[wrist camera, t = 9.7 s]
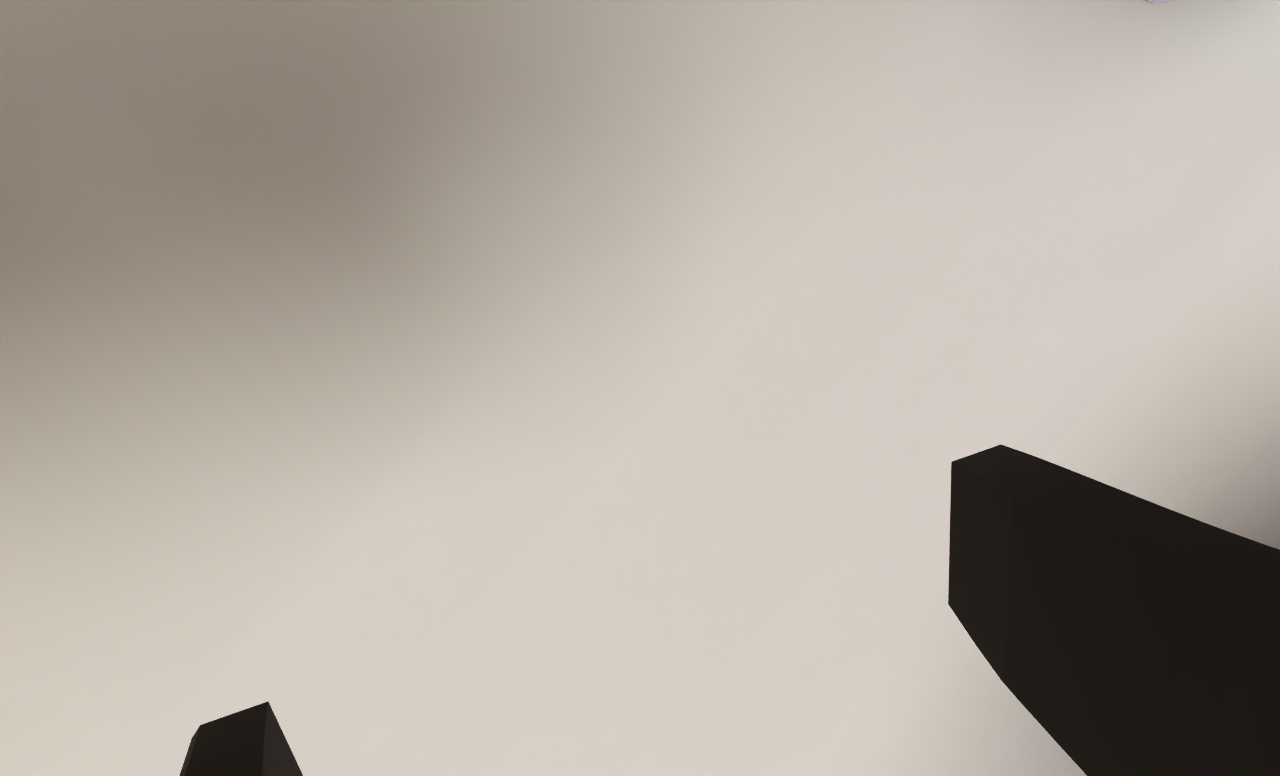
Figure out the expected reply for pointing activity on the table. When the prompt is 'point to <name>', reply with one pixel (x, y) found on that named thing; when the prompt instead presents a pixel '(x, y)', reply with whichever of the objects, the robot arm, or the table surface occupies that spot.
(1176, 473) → the table surface
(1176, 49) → the table surface
